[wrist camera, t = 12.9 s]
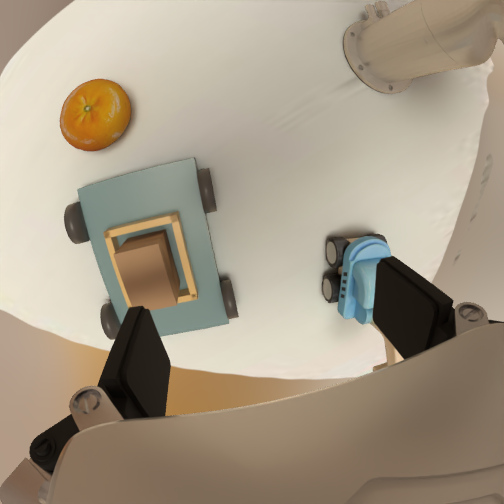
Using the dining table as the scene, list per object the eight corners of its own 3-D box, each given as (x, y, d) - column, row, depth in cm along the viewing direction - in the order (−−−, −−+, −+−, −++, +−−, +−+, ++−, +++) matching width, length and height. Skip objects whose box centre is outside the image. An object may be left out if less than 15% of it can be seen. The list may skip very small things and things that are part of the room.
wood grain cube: (127, 238, 31) (113, 254, 26) (165, 228, 32) (158, 243, 26) (143, 289, 34) (134, 313, 28) (180, 281, 34) (177, 305, 29)
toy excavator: (316, 330, 43) (365, 405, 27) (324, 229, 38) (401, 278, 22) (361, 321, 44) (418, 385, 28) (375, 226, 39) (457, 267, 23)
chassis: (74, 190, 30) (57, 196, 25) (206, 155, 32) (206, 154, 27) (123, 334, 38) (115, 355, 33) (237, 313, 39) (242, 333, 35)
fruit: (151, 122, 26) (94, 103, 19) (106, 169, 30) (52, 162, 22) (134, 78, 27) (86, 57, 20) (94, 122, 31) (47, 111, 23)
